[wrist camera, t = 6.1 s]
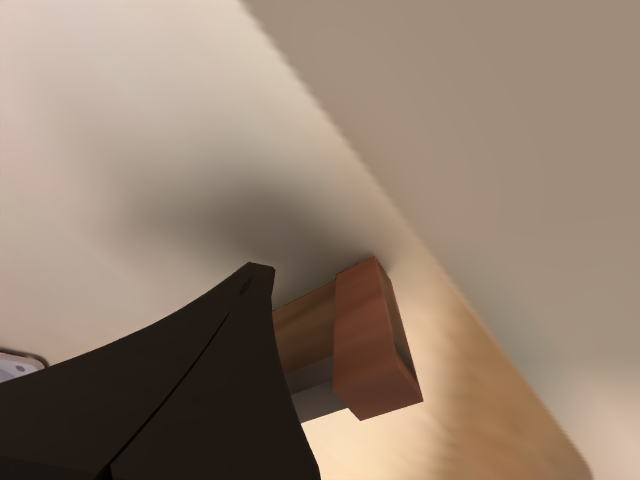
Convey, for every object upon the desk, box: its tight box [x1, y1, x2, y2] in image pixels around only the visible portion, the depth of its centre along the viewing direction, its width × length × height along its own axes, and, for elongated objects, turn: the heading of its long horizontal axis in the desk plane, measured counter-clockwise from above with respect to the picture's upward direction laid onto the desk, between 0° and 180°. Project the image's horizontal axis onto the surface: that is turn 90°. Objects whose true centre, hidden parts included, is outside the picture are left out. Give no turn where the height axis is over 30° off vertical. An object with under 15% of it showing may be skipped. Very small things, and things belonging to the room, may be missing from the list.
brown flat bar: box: [272, 256, 423, 423], centre depth 12 cm, size 1×17×5 cm, turn 124°
